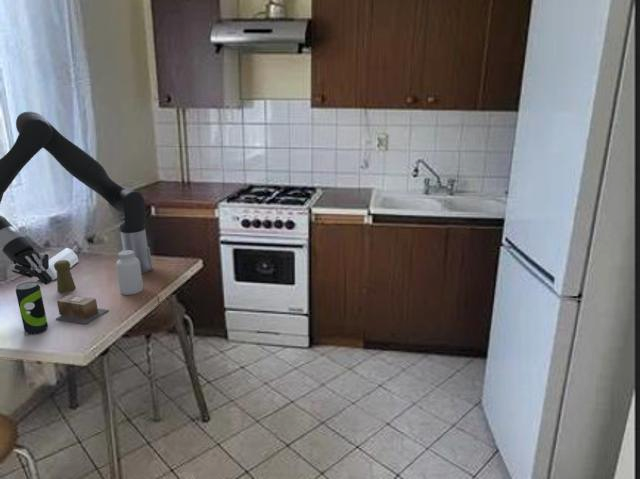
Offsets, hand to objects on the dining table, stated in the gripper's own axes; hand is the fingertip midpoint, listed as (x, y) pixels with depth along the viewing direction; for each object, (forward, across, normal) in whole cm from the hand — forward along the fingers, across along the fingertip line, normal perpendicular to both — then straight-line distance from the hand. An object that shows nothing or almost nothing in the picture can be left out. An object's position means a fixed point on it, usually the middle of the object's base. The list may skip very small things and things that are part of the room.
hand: (49, 282), depth 154 cm
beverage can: (+11, +12, -4) cm, 17 cm away
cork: (-1, -17, -16) cm, 23 cm away
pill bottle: (+17, -22, +2) cm, 28 cm away
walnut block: (+8, -1, -3) cm, 9 cm away
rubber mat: (+15, -1, 0) cm, 15 cm away
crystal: (-14, -31, -29) cm, 45 cm away
